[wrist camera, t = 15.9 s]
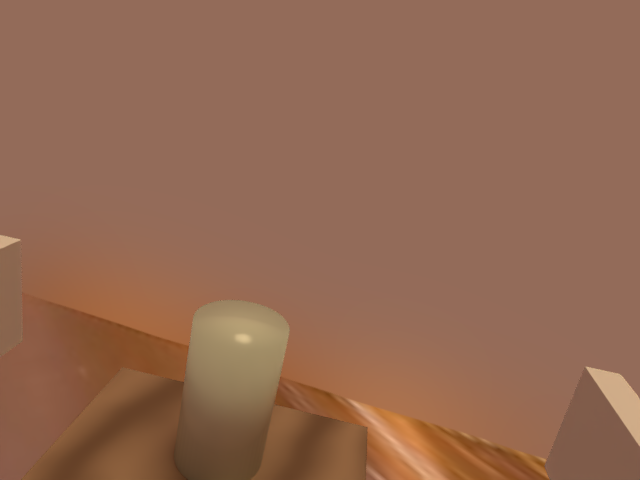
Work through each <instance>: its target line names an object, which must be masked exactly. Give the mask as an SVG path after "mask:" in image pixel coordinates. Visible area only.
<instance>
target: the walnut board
mask: <svg viewBox="0 0 640 480" xmlns="http://www.w3.org/2000/svg"><path fill="white" fill-rule="evenodd" d="M183 386H184V382H180V381H176V380H172V379H168V378H164V377H160V376H156V375H152V374H148V373H144V372H139V371H135V370H131V369H127V368H123V367H122V368H121V369H120V370H119V372H118V373H117V374H116V375H115V376H114V377H113V378H112V379H111V380H110V382H109V383H108V384H107V385H106V386H105V387H104V388H103V389H102V390H101V392H100V393H99V394H98V395H97V396H96V397H95V398H94V399H93V400H92V401H91V403H90V404H89V405H88V406H87V407H86V408H85V409H84V410H83V411H82V413H81V414H80V415H79V416H78V417H77V418H76V419H75V420H74V421H73V423H72V424H71V425H70V426H69V427H68V428H67V429H66V430H65V431H64V432H63V434H62V435H61V436H60V437H59V438H58V439H57V440H56V441H55V442H54V444H53V445H52V446H51V447H50V448H49V449H48V450H47V451H46V452H45V454H44V455H43V456H42V457H41V458H40V459H39V460H38V461H37V462H36V464H35V465H34V466H33V467H32V468H31V469H30V470H29V471H28V472H27V473H26V475H25V476H24V477H23V478H22V479H21V480H188V479H187V478H186V477H184V476H183V475H182V474H181V472H180V471H179V470H178V468H177V466H176V464H175V460H174V450H175V443H176V436H177V429H178V422H179V415H180V408H181V400H182V393H183ZM367 428H368V427H364V426H360V425H356V424H352V423H348V422H344V421H340V420H336V419H332V418H328V417H323V416H319V415H315V414H311V413H307V412H303V411H299V410H295V409H291V408H287V407H283V406H278V405H274V407H273V412H272V416H271V421H270V426H269V431H268V435H267V440H266V445H265V449H264V454H263V459H262V463H261V466H260V469H259V470H258V472H257V473H256V474H255V476H254V477H253V478H251V479H250V480H366V456H367Z"/></svg>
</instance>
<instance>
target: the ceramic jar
mask: <svg viewBox="0 0 640 480" xmlns="http://www.w3.org/2000/svg"><path fill="white" fill-rule="evenodd" d="M289 332H290V329H289V326H288V323H287V321H286V320H285V319H284V318H283V317H282V316H281V315H280V314H279V313H277V312H275V311H274V310H272V309H270V308H268V307H265V306H263V305H259V304H256V303H252V302H247V301H240V300H223V301H216V302H212V303H209V304H206V305H204V306H202V307H201V308H199V309H198V310H197V311H196V312H195V314H194V317H193V323H192V330H191V337H190V344H189V351H188V358H187V365H186V372H185V379H184V386H183V393H182V400H181V408H180V415H179V422H178V429H177V436H176V443H175V450H174V460H175V464H176V466H177V468H178V470H179V471H180V472H181V474H182V475H183V476H184V477H186V478H187V479H188V480H250V479H251V478H253V477H254V476H255V474H256V473H257V472H258V470H259V469H260V466H261V463H262V459H263V454H264V449H265V445H266V440H267V435H268V431H269V426H270V421H271V416H272V412H273V407H274V402H275V398H276V393H277V388H278V384H279V379H280V374H281V369H282V364H283V360H284V355H285V350H286V346H287V341H288V336H289Z"/></svg>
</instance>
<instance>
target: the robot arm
mask: <svg viewBox="0 0 640 480" xmlns="http://www.w3.org/2000/svg"><path fill="white" fill-rule="evenodd" d="M21 268H22V267H21V240H19V239H15V238H11V237H6V236H2V235H0V357H1V356H2V355H4V354H5V353H7V352H8V351H10V350H11V349H12V348H14V347H15V346H17V345H18V344H19V343H21V342H22V271H21V270H22V269H21ZM545 469H546V471H547V474H548V476H549V479H550V480H640V398H639V397H638V396H637V394H636V393H635V392H634V391H633V389H632V388H631V387H630V385H629V384H628V383H627V382H626V380H625V379H624V378H623V377H622V375H621V374H617V373H611V372H608V371H603V370H599V369H594V368H590V367H585V368H584V370H583V373H582V375H581V378H580V380H579V382H578V385H577V388H576V390H575V392H574V395H573V398H572V400H571V402H570V405H569V407H568V409H567V412H566V415H565V417H564V419H563V422H562V424H561V427H560V429H559V432H558V434H557V437H556V439H555V441H554V444H553V446H552V449H551V451H550V454H549V456H548V459H547V461H546V464H545Z"/></svg>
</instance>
